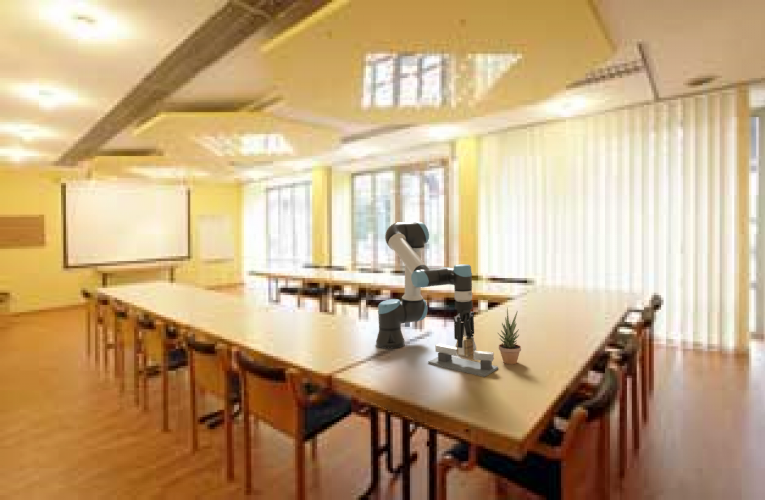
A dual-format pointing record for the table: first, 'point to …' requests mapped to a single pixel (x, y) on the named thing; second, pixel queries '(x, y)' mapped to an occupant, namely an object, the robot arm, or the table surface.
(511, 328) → the potted plant
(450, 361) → the shaft bench
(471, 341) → the tan cardboard block
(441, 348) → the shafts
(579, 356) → the table surface
